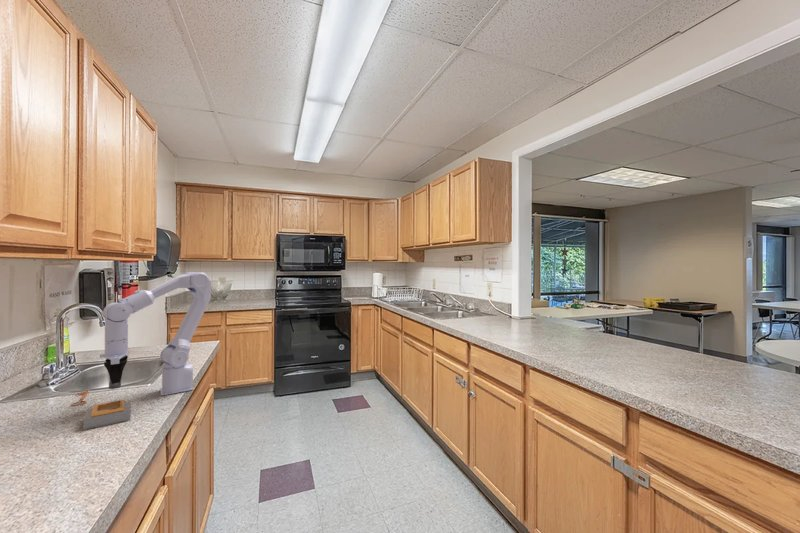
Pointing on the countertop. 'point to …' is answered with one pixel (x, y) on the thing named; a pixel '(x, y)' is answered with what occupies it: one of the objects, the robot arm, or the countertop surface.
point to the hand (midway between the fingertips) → (116, 381)
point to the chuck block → (107, 414)
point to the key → (81, 398)
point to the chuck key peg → (114, 385)
